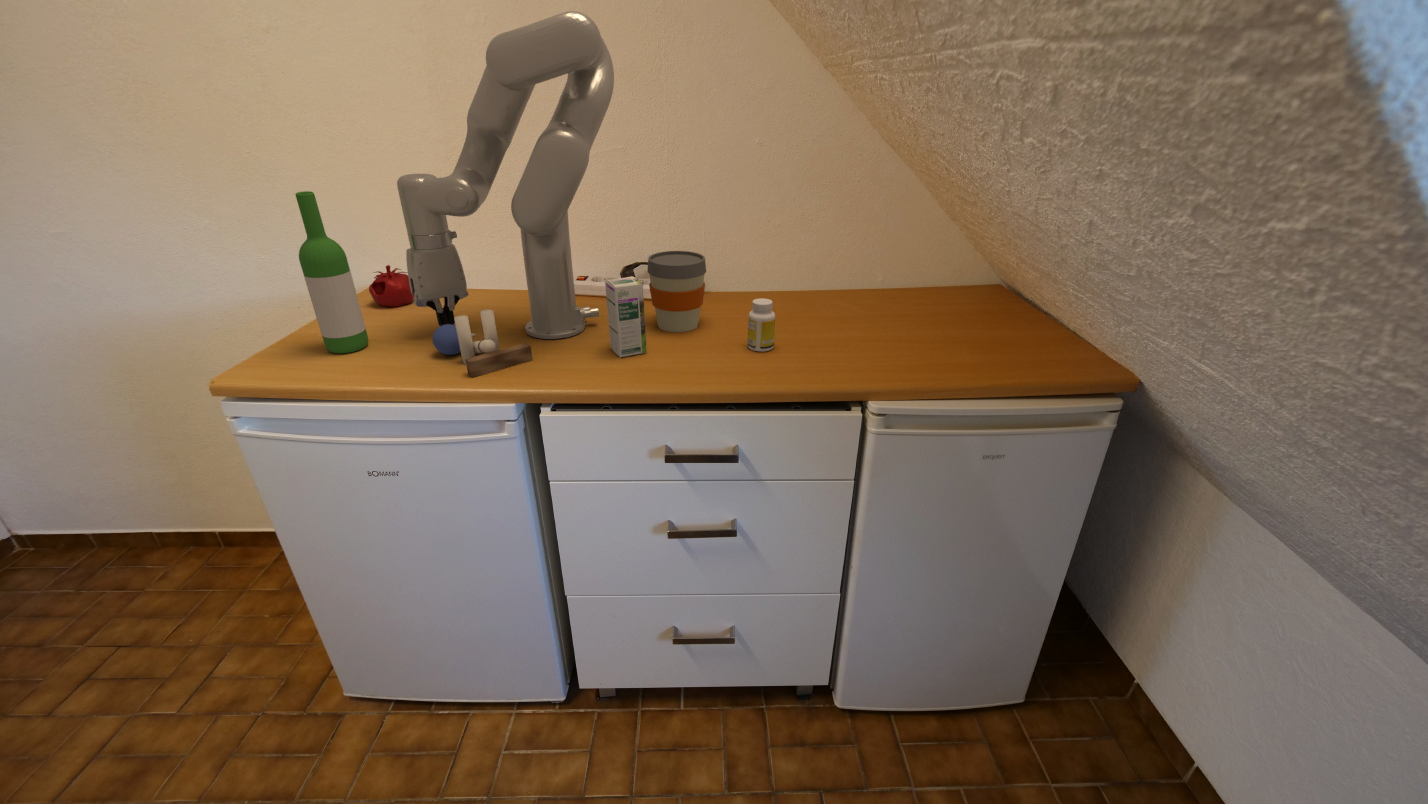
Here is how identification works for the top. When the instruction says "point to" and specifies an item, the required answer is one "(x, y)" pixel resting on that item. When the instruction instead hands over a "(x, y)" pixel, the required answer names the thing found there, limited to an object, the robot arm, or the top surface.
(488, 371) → the back rail
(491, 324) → the pin back near
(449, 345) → the ball
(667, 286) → the reusable coffee cup
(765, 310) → the supplement bottle
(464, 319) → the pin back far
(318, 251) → the wine bottle
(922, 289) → the top surface
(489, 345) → the pin front
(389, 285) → the pomegranate
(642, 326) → the syrup box
